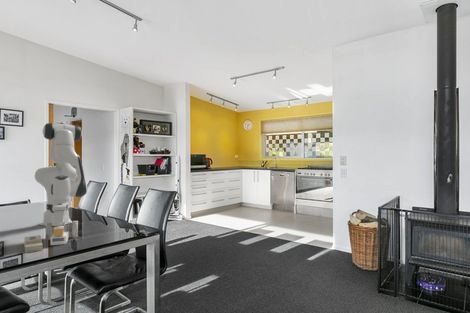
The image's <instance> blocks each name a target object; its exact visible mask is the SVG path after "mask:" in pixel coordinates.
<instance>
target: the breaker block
mask: <svg viewBox="0 0 470 313" xmlns="http://www.w3.org/2000/svg"><path fill="white" fill-rule="evenodd" d="M69 238H70V237H69V230H68V231H67V230H66V231H63V236H54V233H52V236H51V240H50V245H49V246H59V245H66V244H67V242H68V240H69Z"/></svg>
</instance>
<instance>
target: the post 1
mask: <svg viewBox="0 0 470 313" xmlns="http://www.w3.org/2000/svg"><path fill="white" fill-rule="evenodd" d="M52 235H53V226H52V223H46V226H45V240H46V241H49V240H50V241H51V236H52Z"/></svg>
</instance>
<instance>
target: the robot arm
mask: <svg viewBox="0 0 470 313" xmlns="http://www.w3.org/2000/svg"><path fill="white" fill-rule="evenodd" d="M42 135H43V137H44V139H47V140H50V147H49V148H50V149H49V157H48V158H49V159H50V161H52V162H53V163H55V164H57V166H49V167H48V166H47V167H41V168H38V169H37V170H36V171H35V172H34V180H35V181H36V182H37V183H38V184H40V185H42V187H43V188H44V189H45V191H46V198H47V199H46V202H47V203H46V207H45V208H46V210H45V211H44V212H43V220H42V222H41V223H39V224H40V226H44V227H46V223H52V227H58V226H64V227H65V225H69V224H72V221H73V220H71V217H70V215H69V213H70V212H69V209H70V208H71V206H72V205H71V201H72V200H71V198H73V197H74V198H82V197H84V196H85V195H87V192H88V185H87V182H86V178H85V173H84V169H83V168H84V166H83V163H82V159H81V156H80V154H77V153H76V151H75V149H76V148H75V142H79V141H81V138H82V136H83V130H82V127H80V126H78V125H73V124H69V123H67V124H66V123H51V122H50V123H46V124H45V125H44V126H43V128H42Z"/></svg>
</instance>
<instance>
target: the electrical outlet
mask: <svg viewBox="0 0 470 313" xmlns="http://www.w3.org/2000/svg"><path fill="white" fill-rule="evenodd" d="M23 240H24V243H23V244H24V245H23V246H24V253H27V254H28V253H33V252H39V251H43V249H44V246H43V242H42V241H43V239H42V236H41V235H40V234H39V235H32V236H24V238H23Z"/></svg>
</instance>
